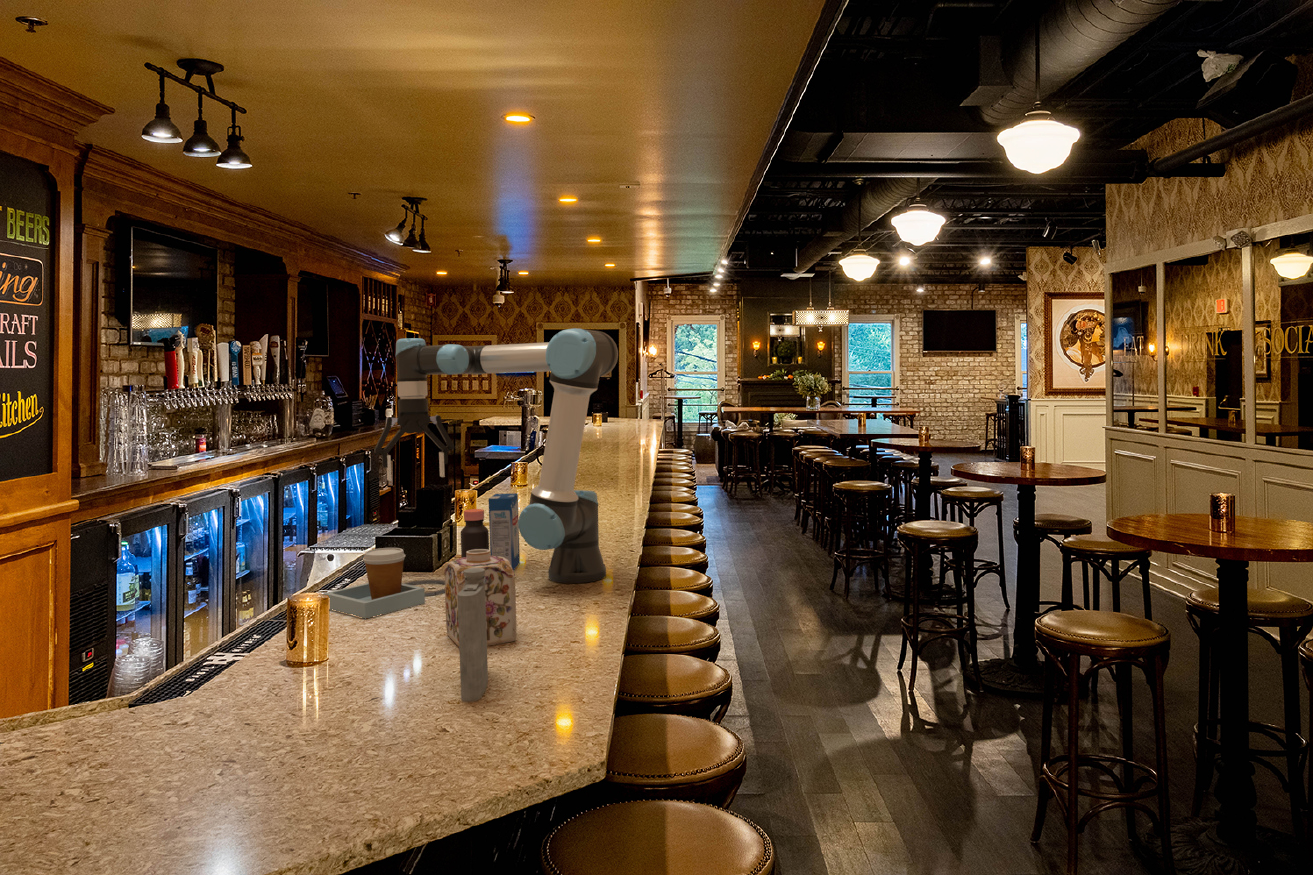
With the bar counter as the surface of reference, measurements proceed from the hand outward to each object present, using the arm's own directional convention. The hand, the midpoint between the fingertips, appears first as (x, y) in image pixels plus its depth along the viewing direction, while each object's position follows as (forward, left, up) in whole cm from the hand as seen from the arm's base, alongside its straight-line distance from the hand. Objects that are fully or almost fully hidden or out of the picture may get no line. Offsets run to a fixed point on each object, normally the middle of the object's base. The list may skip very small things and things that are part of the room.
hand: (416, 478), depth 222 cm
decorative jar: (-54, +27, -27) cm, 66 cm away
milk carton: (-10, -21, -27) cm, 36 cm away
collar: (-11, +8, -26) cm, 30 cm away
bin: (-14, +24, -26) cm, 38 cm away
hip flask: (-73, +45, -27) cm, 90 cm away
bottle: (-23, +1, -27) cm, 35 cm away
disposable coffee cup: (-15, +22, -26) cm, 37 cm away
